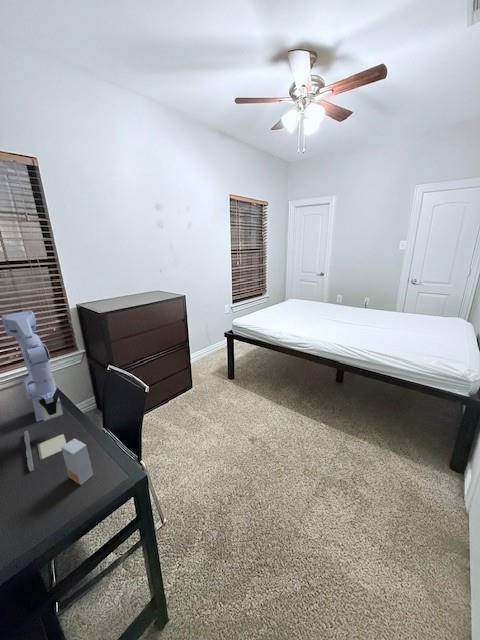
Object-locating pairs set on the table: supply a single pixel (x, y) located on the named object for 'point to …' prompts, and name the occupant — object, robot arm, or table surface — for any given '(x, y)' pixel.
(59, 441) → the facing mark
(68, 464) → the skincare box
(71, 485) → the table surface
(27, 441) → the rail
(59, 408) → the sage carton
